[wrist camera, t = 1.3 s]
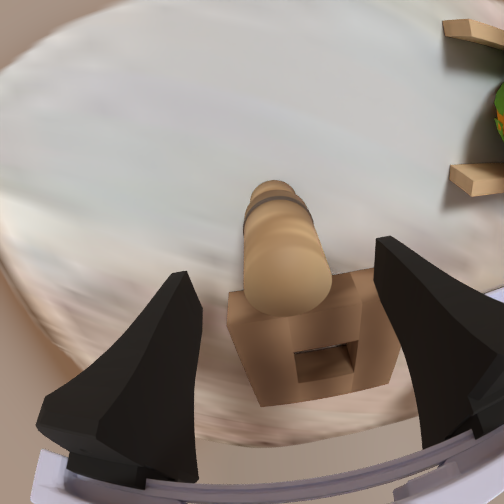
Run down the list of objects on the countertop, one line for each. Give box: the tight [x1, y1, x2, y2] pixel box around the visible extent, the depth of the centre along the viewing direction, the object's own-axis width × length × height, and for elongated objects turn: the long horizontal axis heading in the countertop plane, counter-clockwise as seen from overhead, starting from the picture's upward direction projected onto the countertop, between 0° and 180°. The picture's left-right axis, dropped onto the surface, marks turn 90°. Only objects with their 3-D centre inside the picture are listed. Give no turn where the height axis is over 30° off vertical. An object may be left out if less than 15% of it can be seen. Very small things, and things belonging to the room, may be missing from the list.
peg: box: [243, 180, 332, 317], centre depth 13 cm, size 3×3×7 cm
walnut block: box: [227, 268, 401, 407], centre depth 22 cm, size 12×12×3 cm
